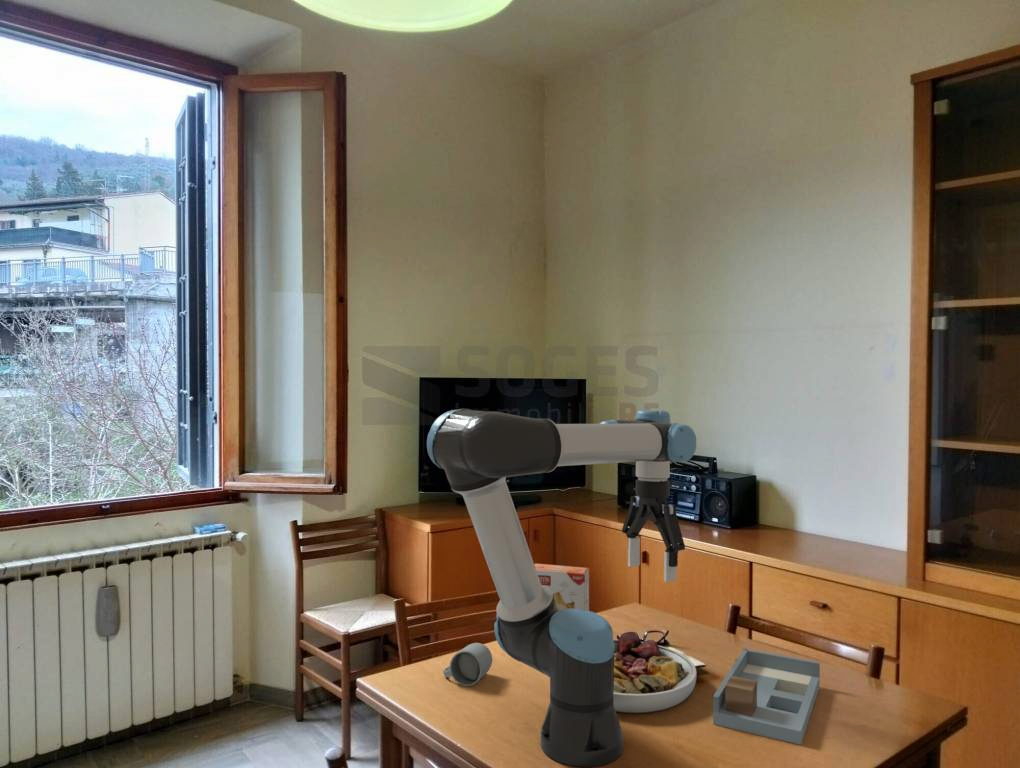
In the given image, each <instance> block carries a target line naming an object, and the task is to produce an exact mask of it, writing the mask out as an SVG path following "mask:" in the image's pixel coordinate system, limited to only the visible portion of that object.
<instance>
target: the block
mask: <svg viewBox="0 0 1020 768" xmlns="http://www.w3.org/2000/svg"><path fill="white" fill-rule="evenodd" d="M756 707H757V681H754V680H749V679H745V678H740V677H735V676H731V677H730V679H729V680H728V682H727V684H726V691H725V711H729V712H734V713H738V714H742V715H747V716H751V717H752V716H753V714H754V711H755V709H756Z"/></svg>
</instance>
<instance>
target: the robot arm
mask: <svg viewBox="0 0 1020 768" xmlns="http://www.w3.org/2000/svg"><path fill="white" fill-rule="evenodd" d="M426 450H427V454H428V456H429V458H430V460H431V462H432V463H433V464H434V465H436V467H438V468H439V469H442V470H444V472H445V475H446V478H447V481H448V482H449V483H448V484H449V486H450V487H451V488H450V489H451V490H452V491H453V492H454V493H457V494H459V495H461V496H462V497H463V500H464V504H465V506H466V509H467V511H468V514H469V518H470V520H471V522H472V526H473V528H474V530H475V534H476V536H477V539H478V542H479V545H480V547H481V550H482V553H483V556H484V559H485V561H486V564H487V567H488V569H489V572H490V575H491V579H492V581H493V583H494V584H493V585H494V586H495V588H496V591H497V594H498V597H499V599H500V600H499V601H498V603H497V605H496V607H495V609H496V612H495V613H496V621H495V622H494V624H493V625H494V637H495V640H496V641H497V644H498V645H499V647H500V648H501V649H502V651H504V652H505V653H506V654H507V655H508V656H509V657H511V658H512V659H514V660H516V661H517V662H521V663H522V664H524V665H526V666H528V667H530V668H532V669H534V670H536V671H538V672H540V673H541V674H543V675H545V676H547V677H549V703H548V707H547V709H546V713H545V715H544V720H543V722H542V725H541V728H540V747H541V750H542V751H543V753H544V754H545V755H546V756H548V757H549V758H550V759H552V760H554V761H555V762H558V763H561V764H564V765H568V766H573V767H583V768H585V767H586V768H587V767H589V768H590V767H598V766H604V765H607V764H609V763H612V762H613V761H616V760H617V759H618V758H619V757H621V755H622V754H623V750H624V734H623V729H622V727H621V724H620V720H619V717H618V715H617V711H615V707H614V651H615V649H614V648H615V645H614V641H613V640H614V631H613V627H612V625H611V623H610V622H609V621H608V620H607V619H606V618H605V617H603V616H601V614H597V613H596V612H595V611H590V610H589V611H587V610H586V611H582V610H581V609H564V610H560V611H559V610H558V608H557V605H556V603H555V600H554V597H553V594H552V592H551V590H550V589H549V588H548V587H546V586H544V585H541V583H540V580H539V577H538V574H537V571H536V568H535V565H534V564H535V563H534V560H533V557H532V553H531V551H530V548H529V545H528V542H527V540H526V536H525V534H524V533H525V532H524V530H523V527H522V525H521V522H520V519H519V516H518V513H517V511H516V508H515V504H514V502H513V498H512V496H511V492H510V490H509V487H508V483H507V482H506V480H507V479H506V478H512V477H519V476H527V475H536V474H546V473H551V472H553V471H554V470H555V469H556V468H557V467H565V466H566V467H567V466H582V465H600V464H616V463H617V464H618V463H619V464H620V463H633V462H635V477H637V479H635V495H632V496H631V497H630V500H629V501H630V502H629V507H628V510H627V513H626V516H625V519H624V522H623V526H622V529H621V532H622V533H623V534H625V535H626V537H627V552H628V555H627V557H628V558H627V567H630V568H632V567H640V564H641V563H640V562H641V561H640V559H641V558H640V557H641V555H640V553H641V550H640V549H641V548H640V547H641V538H640V533H641V531H642V529H643V527H644V526H645V525H646V523H647V521H648V520H649V521H650V522H652V523H653V524H654V525H655V526H656V527H657V529H658V532H659V535H660V536H661V539H662V541H663V543H664V545H665V548H666V549H665V550H664V552H663V553H664V557H663V558H664V559H663V560H664V562H663V567H664V568H663V581H664V582H665V583H668V582H670V583H671V582H677V568H678V559H679V552H681V551H684V550H685V549H686V545H685V541H684V538H683V535H682V531H681V528H680V523H679V520H678V516H677V506H676V504H667V502H666V500H667V498H668V497H670V492H671V491H670V489H671V486H670V484H671V483H670V481H669V480H668V479H669V478H670V475H671V473H670V471H671V470H670V469H671V468H670V466H671V465H670V464H671V463H670V462H672V463H677V462H679V463H684V462H687V461H689V460H691V459H692V457H693V456H694V455H695V453H696V450H697V435H696V433H695V431H694V429H693V428H692V427H690V426H689V425H686V424H682V423H678V422H677V423H676V422H674V423H671V415H670V413H669V411H666V410H658V409H657V410H656V409H655V410H654V409H653V410H652V409H651V410H650V409H644V410H643V409H642V410H639V411H637V413H636V418H635V419H613V418H612V419H610V420H609V419H608V420H603V421H601V422H600V423H555V422H554V421H553V420H552V419H549V418H538V417H537V418H535V417H527V416H521V415H516V414H510V413H507V412H506V413H505V412H500V411H485V410H484V411H483V410H475V409H474V410H472V409H469V408H459V409H451V410H448V411H446V412H444V413H443V414H441V415H439V416H438V417H437V418H436V419H435V420H434V422H433V423H432V425H431V427H430V429H429V432H428V434H427V439H426Z"/></svg>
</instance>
